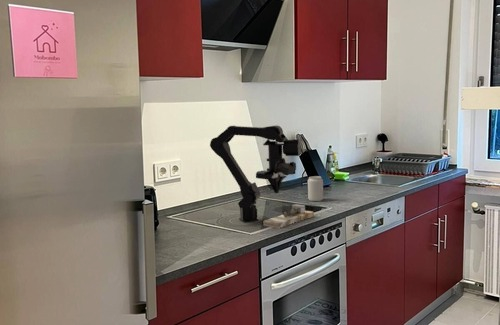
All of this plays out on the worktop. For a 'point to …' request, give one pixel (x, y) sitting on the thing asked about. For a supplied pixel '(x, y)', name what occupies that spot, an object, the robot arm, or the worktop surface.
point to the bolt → (289, 210)
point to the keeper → (301, 208)
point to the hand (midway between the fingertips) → (276, 193)
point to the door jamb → (287, 219)
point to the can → (315, 188)
